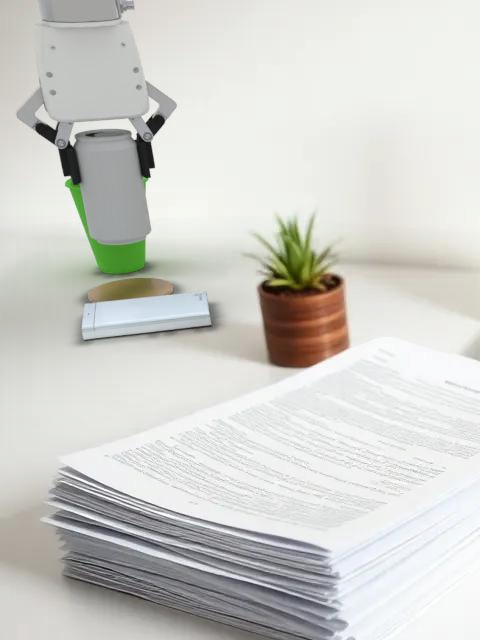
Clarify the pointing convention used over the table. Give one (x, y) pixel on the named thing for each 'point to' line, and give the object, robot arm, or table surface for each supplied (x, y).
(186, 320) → the hard drive
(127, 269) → the cup
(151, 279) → the coaster
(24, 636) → the table surface
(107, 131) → the beverage can
